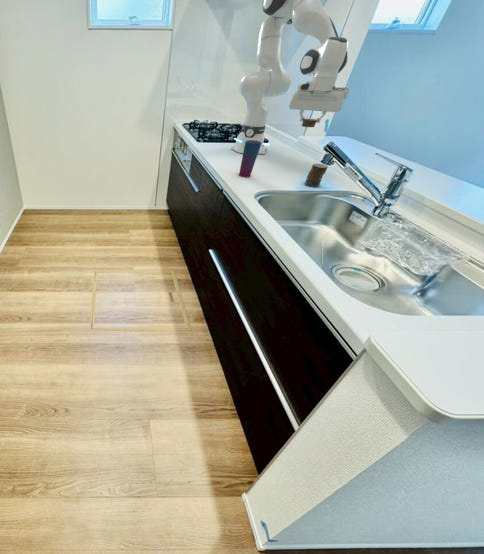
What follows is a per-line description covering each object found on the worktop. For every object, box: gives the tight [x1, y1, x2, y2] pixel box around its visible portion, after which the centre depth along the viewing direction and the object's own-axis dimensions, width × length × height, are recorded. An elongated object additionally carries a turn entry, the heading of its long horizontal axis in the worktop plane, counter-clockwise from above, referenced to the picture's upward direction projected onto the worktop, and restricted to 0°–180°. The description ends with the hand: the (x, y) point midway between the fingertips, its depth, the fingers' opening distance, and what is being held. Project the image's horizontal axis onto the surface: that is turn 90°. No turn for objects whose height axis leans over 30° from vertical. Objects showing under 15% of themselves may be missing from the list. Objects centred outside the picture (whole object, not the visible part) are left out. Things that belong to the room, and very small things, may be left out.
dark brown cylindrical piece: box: [304, 163, 329, 188], centre depth 129 cm, size 6×6×8 cm
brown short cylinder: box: [301, 118, 317, 128], centre depth 134 cm, size 5×5×3 cm
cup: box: [238, 140, 262, 178], centre depth 137 cm, size 7×7×15 cm
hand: (309, 122), depth 134 cm, fingers closed on brown short cylinder, 5 cm apart
